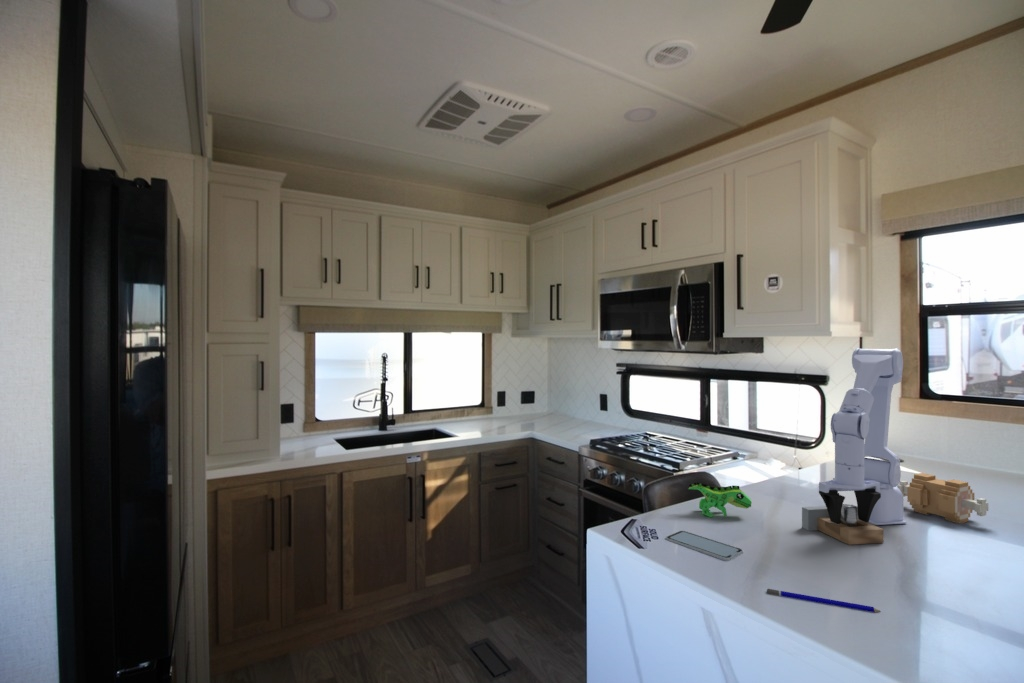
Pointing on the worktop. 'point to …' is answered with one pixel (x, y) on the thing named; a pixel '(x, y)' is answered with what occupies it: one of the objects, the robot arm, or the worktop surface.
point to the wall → (814, 516)
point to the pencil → (822, 600)
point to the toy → (720, 497)
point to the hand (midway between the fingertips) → (849, 521)
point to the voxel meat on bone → (942, 497)
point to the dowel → (849, 515)
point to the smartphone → (705, 545)
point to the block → (851, 531)
